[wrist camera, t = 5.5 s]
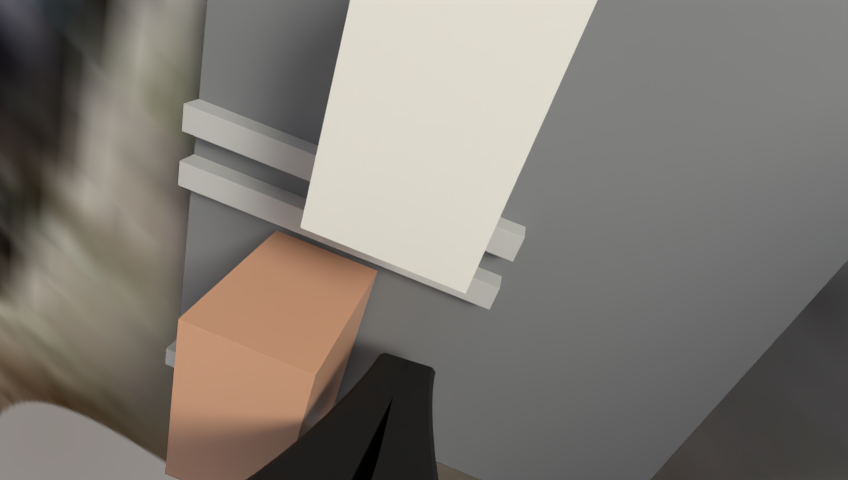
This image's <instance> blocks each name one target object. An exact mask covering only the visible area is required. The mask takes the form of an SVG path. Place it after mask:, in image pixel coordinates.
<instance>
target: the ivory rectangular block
mask: <svg viewBox="0 0 848 480" xmlns="http://www.w3.org/2000/svg"><path fill="white" fill-rule="evenodd" d="M596 3H597V0H350V3H349V8H348V12H347V17H346V21H345V26H344V30H343V35H342V40H341V44H340V49H339V53H338V58H337V62H336V67H335V72H334V76H333V81H332V85H331V90H330V94H329V99H328V103H327V108H326V113H325V117H324V122H323V126H322V131H321V135H320V140H319V144H318V149H317V154H316V158H315V163H314V167H313V172H312V176H311V181H310V185H309V190H308V195H307V199H306V204H305V208H304V213H303V217H302V222H301V226H300V228H302V229H305V230H307V231H310V232H312V233H315V234H317V235H320V236H322V237H325V238H327V239H330V240H332V241H335V242H337V243H340V244H342V245H345V246H347V247H350V248H352V249H355V250H357V251H360V252H362V253H365V254H367V255H370V256H372V257H375V258H377V259H380V260H382V261H385V262H387V263H390V264H392V265H395V266H397V267H400V268H402V269H405V270H407V271H410V272H412V273H415V274H417V275H420V276H422V277H425V278H427V279H430V280H432V281H435V282H437V283H440V284H442V285H445V286H447V287H450V288H452V289H455V290H457V291H460V292H462V293H465V294H466V292H467V290H468V287H469V285H470V283H471V281H472V278H473V276H474V274H475V272H476V270H477V267H478V265H479V263H480V261H481V258H482V256H483V254H484V252H485V250H486V247H487V245H488V243H489V241H490V238H491V236H492V234H493V232H494V230H495V227H496V225H497V223H498V221H499V218H500V216H501V214H502V212H503V210H504V207H505V205H506V203H507V201H508V198H509V196H510V194H511V192H512V189H513V187H514V185H515V183H516V181H517V178H518V176H519V174H520V172H521V169H522V167H523V165H524V163H525V161H526V158H527V156H528V154H529V152H530V149H531V147H532V145H533V143H534V141H535V138H536V136H537V134H538V132H539V129H540V127H541V125H542V123H543V121H544V118H545V116H546V114H547V112H548V109H549V107H550V105H551V103H552V100H553V98H554V96H555V94H556V92H557V89H558V87H559V85H560V83H561V80H562V78H563V76H564V74H565V72H566V69H567V67H568V65H569V63H570V60H571V58H572V56H573V54H574V52H575V49H576V47H577V45H578V43H579V40H580V38H581V36H582V34H583V32H584V29H585V27H586V25H587V23H588V20H589V18H590V16H591V14H592V11H593V9H594V7H595V5H596Z"/></svg>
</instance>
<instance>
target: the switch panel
mask: <svg viewBox="0 0 848 480" xmlns="http://www.w3.org/2000/svg"><path fill="white" fill-rule="evenodd" d="M349 3H350V0H207V9H206V21H205V33H204V44H203V56H202V67H201V79H200V90H199V99H197V100H194V101H191V102H187V103H184V109H183V123H182V131H183V132H186V133H188V134H191V135H193V136H195V148H194V154H193V155H191V156H189V157H187V158H185V159H183V160H181V161H180V164H179V178H178V185H179V186H182V187H184V188H187V189H189V190H191V194H190V206H189V217H188V229H187V240H186V252H185V263H184V275H183V286H182V298H181V310H180V317H181V316H182V315H183V314H184V313H186V312H187V311H188V310H189V309H190V308H191V307H192V306H193V305H194V304H196V303H197V302H198V301H199V300H200V299H201V298H202V297H203V296H204V295H206V294H207V293H208V292H209V291H210V290H211V289H212V288H213V287H214V286H215V285H217V284H218V283H219V282H220V281H221V280H222V279H223V278H224V277H225V276H227V275H228V274H229V273H230V272H231V271H232V270H233V269H234V268H235V267H237V266H238V265H239V264H240V263H241V262H242V261H243V260H244V259H245V258H246V257H248V256H249V255H250V254H251V253H252V252H253V251H254V250H255V249H256V248H258V247H259V246H260V245H261V244H262V243H263V242H264V241H265V240H266V239H268V238H269V237H270V236H271V235H272V234H273V233H274V232H275V231H276V230H277V231H279V232H282V233H284V234H287V235H289V236H292V237H294V238H297V239H299V240H302V241H304V242H307V243H309V244H312V245H314V246H317V247H319V248H322V249H324V250H327V251H329V252H332V253H334V254H337V255H339V256H342V257H344V258H347V259H349V260H352V261H354V262H357V263H359V264H362V265H364V266H367V267H369V268H372V269H374V270H377V274H376V277H375V280H374V283H373V286H372V290H371V293H370V296H369V299H368V302H367V305H366V308H365V311H364V314H363V317H362V320H361V323H360V326H359V329H358V332H357V335H356V338H355V341H354V345H353V348H352V351H351V354H350V357H349V360H348V363H347V366H346V369H345V372H344V375H343V378H342V381H341V384H340V387H339V390H338V393H337V396H336V399H335V401H334V403H333V405H332V407H331V409H332V408H333V407H334V406H335V405H336V404H337V403H338V402H339V401H340V400H341V399H342V398H343V397H344V396H345V395H346V394H347V393H348V392H349V391H350V390H351V389H352V388H353V387H354V386H355V385H356V383H357V382H358V381H359V380H360V379H361V378H362V377H363V376H364V374H365V373H366V372H367V371H368V370H369V368H370V367H371V366H372V364H373V363H374V362H375V360H376V359H377V358H378V356H379V355H380V354H383V353H388V354H391V355H394V356H397V357H401V358H404V359H407V360H410V361H414V362H417V363H420V364H423V365H427V366H430V367H432V368H433V369H434V371H435V372H436V373H435V378H434V385H433V400H432V414H433V435H434V447H435V458H436V462H439V463H441V464H443V465H446V466H448V467H451V468H453V469H455V470H458V471H460V472H463V473H465V474H468V475H470V476H472V477H475V478H477V479H480V480H650V479H651V478H652V477H653V476H654V475H655V474H656V473H657V472H658V470H659V469H660V468H661V467H662V466H663V465H664V464H665V463H666V462H667V460H668V459H669V458H670V457H671V456H672V455H673V454H674V453H675V452H676V450H677V449H678V448H679V447H680V446H681V445H682V444H683V443H684V442H685V440H686V439H687V438H688V437H689V436H690V435H691V434H692V433H693V432H694V430H695V429H696V428H697V427H698V426H699V425H700V424H701V423H702V422H703V420H704V419H705V418H706V417H707V416H708V415H709V414H710V413H711V412H712V410H713V409H714V408H715V407H716V406H717V405H718V404H719V403H720V402H721V400H722V399H723V398H724V397H725V396H726V395H727V394H728V393H729V392H730V390H731V389H732V388H733V387H734V386H735V385H736V384H737V383H738V382H739V380H740V379H741V378H742V377H743V376H744V375H745V374H746V373H747V371H748V370H749V369H750V368H751V367H752V366H753V365H754V364H755V363H756V361H757V360H758V359H759V358H760V357H761V356H762V355H763V354H764V353H765V351H766V350H767V349H768V348H769V347H770V346H771V345H772V344H773V343H774V341H775V340H776V339H777V338H778V337H779V336H780V335H781V334H782V333H783V331H784V330H785V329H786V328H787V327H788V326H789V325H790V324H791V323H792V321H793V320H794V319H795V318H796V317H797V316H798V315H799V314H800V313H801V311H802V310H803V309H804V308H805V307H806V306H807V305H808V304H809V303H810V301H811V300H812V299H813V298H814V297H815V296H816V295H817V294H818V293H819V291H820V290H821V289H822V288H823V287H824V286H825V285H826V284H827V283H828V281H829V280H830V279H831V278H832V277H833V276H834V275H835V274H836V273H837V271H838V270H839V269H840V268H841V267H842V266H843V265H844V264H845V262H846V261H847V260H848V0H597V3H596V5H595V7H594V9H593V11H592V14H591V16H590V18H589V20H588V23H587V25H586V27H585V29H584V32H583V34H582V36H581V38H580V40H579V43H578V45H577V47H576V49H575V52H574V54H573V56H572V58H571V60H570V63H569V65H568V67H567V69H566V72H565V74H564V76H563V78H562V80H561V83H560V85H559V87H558V89H557V92H556V94H555V96H554V98H553V100H552V103H551V105H550V107H549V109H548V112H547V114H546V116H545V118H544V121H543V123H542V125H541V127H540V129H539V132H538V134H537V136H536V138H535V141H534V143H533V145H532V147H531V149H530V152H529V154H528V156H527V158H526V161H525V163H524V165H523V167H522V169H521V172H520V174H519V176H518V178H517V181H516V183H515V185H514V187H513V189H512V192H511V194H510V196H509V198H508V201H507V203H506V205H505V207H504V210H503V212H502V214H501V216H500V218H499V221H498V223H497V225H496V227H495V230H494V232H493V234H492V236H491V238H490V241H489V243H488V245H487V247H486V250H485V252H484V254H483V256H482V258H481V261H480V263H479V265H478V267H477V270H476V272H475V274H474V276H473V278H472V281H471V283H470V285H469V287H468V290H467V292H466V294H465V293H462V292H460V291H457V290H455V289H452V288H450V287H447V286H445V285H442V284H440V283H437V282H435V281H432V280H430V279H427V278H425V277H422V276H420V275H417V274H415V273H412V272H410V271H407V270H405V269H402V268H400V267H397V266H395V265H392V264H390V263H387V262H385V261H382V260H380V259H377V258H375V257H372V256H370V255H367V254H365V253H362V252H360V251H357V250H355V249H352V248H350V247H347V246H345V245H342V244H340V243H337V242H335V241H332V240H330V239H327V238H325V237H322V236H320V235H317V234H315V233H312V232H310V231H307V230H305V229H302V228H300V226H301V222H302V217H303V213H304V208H305V204H306V199H307V195H308V190H309V185H310V181H311V176H312V172H313V167H314V163H315V158H316V154H317V149H318V144H319V140H320V135H321V131H322V126H323V122H324V117H325V113H326V108H327V103H328V99H329V94H330V90H331V85H332V81H333V76H334V72H335V67H336V62H337V58H338V53H339V49H340V44H341V40H342V35H343V30H344V26H345V21H346V17H347V12H348V8H349ZM176 342H177V339H176V340H175V341H174V342H173V343H172V344H171V345H170V346H168V347H167V348H166V360H165V364H166V365H169V366H171V367H174V365H175V353H176ZM331 409H330V410H331Z"/></svg>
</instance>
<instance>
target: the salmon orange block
mask: <svg viewBox="0 0 848 480" xmlns="http://www.w3.org/2000/svg"><path fill="white" fill-rule="evenodd" d="M376 274H377V270H374V269H372V268H369V267H367V266H364V265H362V264H359V263H357V262H354V261H352V260H349V259H347V258H344V257H342V256H339V255H337V254H334V253H332V252H329V251H327V250H324V249H322V248H319V247H317V246H314V245H312V244H309V243H307V242H304V241H302V240H299V239H297V238H294V237H292V236H289V235H287V234H284V233H282V232H279V231H277V230H276V231H275V232H274V233H273V234H272V235H271V236H270V237H269V238H268V239H266V240H265V241H264V242H263V243H262V244H261V245H260V246H259V247H258V248H256V249H255V250H254V251H253V252H252V253H251V254H250V255H249V256H248V257H246V258H245V259H244V260H243V261H242V262H241V263H240V264H239V265H238V266H237V267H235V268H234V269H233V270H232V271H231V272H230V273H229V274H228V275H227V276H225V277H224V278H223V279H222V280H221V281H220V282H219V283H218V284H217V285H215V286H214V287H213V288H212V289H211V290H210V291H209V292H208V293H207V294H206V295H204V296H203V297H202V298H201V299H200V300H199V301H198V302H197V303H196V304H194V305H193V306H192V307H191V308H190V309H189V310H188V311H187V312H186V313H184V314H183V315H182V316H181V317H180V318H179V319H178V330H177V342H176V353H175V365H174V377H173V389H172V400H171V412H170V424H169V436H168V447H167V459H166V471H165V474H167V475H170V476H172V477H174V478H177V479H179V480H246V479H248V478H249V477H250V476H252V475H253V474H255V473H256V472H257V471H259V470H260V469H262V468H263V467H264V466H265V465H267V464H268V463H269V462H271V461H272V460H273V459H275V458H276V457H277V456H279V455H280V454H281V453H282V452H284V451H285V450H286V449H287V448H289V447H290V446H291V445H292V444H293V443H295V442H296V441H297V440H298V439H299V438H300V437H302V436H303V435H304V434H305V433H306V432H307V431H308V430H309V429H311V428H312V427H313V426H314V425H315V424H316V423H317V422H318V421H320V420H321V419H322V418H323V417H324V416H325V415H326V414H327V413H328V412H329V411H330V409H331V407H332V405H333V403H334V401H335V399H336V396H337V393H338V390H339V387H340V384H341V381H342V378H343V375H344V372H345V369H346V366H347V363H348V360H349V357H350V354H351V351H352V348H353V345H354V341H355V338H356V335H357V332H358V329H359V326H360V323H361V320H362V317H363V314H364V311H365V308H366V305H367V302H368V299H369V296H370V293H371V290H372V286H373V283H374V280H375V277H376Z"/></svg>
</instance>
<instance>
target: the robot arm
mask: <svg viewBox="0 0 848 480" xmlns="http://www.w3.org/2000/svg"><path fill="white" fill-rule="evenodd" d="M435 373H436V372H435V371H434V369H433V368H432V367H430V366H427V365H423V364H420V363H417V362H414V361H410V360H407V359H404V358H401V357H397V356H394V355H391V354H388V353H383V354H380V355H379V356H378V358H377V359H376V360H375V362H374V363H373V364H372V366H371V367H370V368H369V370H368V371H367V372H366V373H365V374H364V376H363V377H362V378H361V379H360V380H359V381H358V382H357V383H356V385H355V386H354V387H353V388H352V389H351V390H350V391H349V392H348V393H347V394H346V395H345V396H344V397H343V398H342V399H341V400H340V401H339V402H338V403H337V404H336V405H335V406H334V407H333V408H332V409H331V410H330V411H329V412H328V413H327V414H326V415H325V416H324V417H323V418H322V419H321V420H320V421H318V422H317V423H316V424H315V425H314V426H313V427H312V428H311V429H309V430H308V431H307V432H306V433H305V434H304V435H303V436H302V437H300V438H299V439H298V440H297V441H296V442H295V443H293V444H292V445H291V446H290V447H289V448H287V449H286V450H285V451H284V452H282V453H281V454H280V455H279V456H277V457H276V458H275V459H273V460H272V461H271V462H269V463H268V464H267V465H265V466H264V467H263V468H262V469H260V470H259V471H257V472H256V473H255V474H253V475H252V476H250V477H249V478H248V479H246V480H438V473H437V466H436V458H435V447H434V435H433V414H432V400H433V385H434V378H435Z"/></svg>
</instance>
